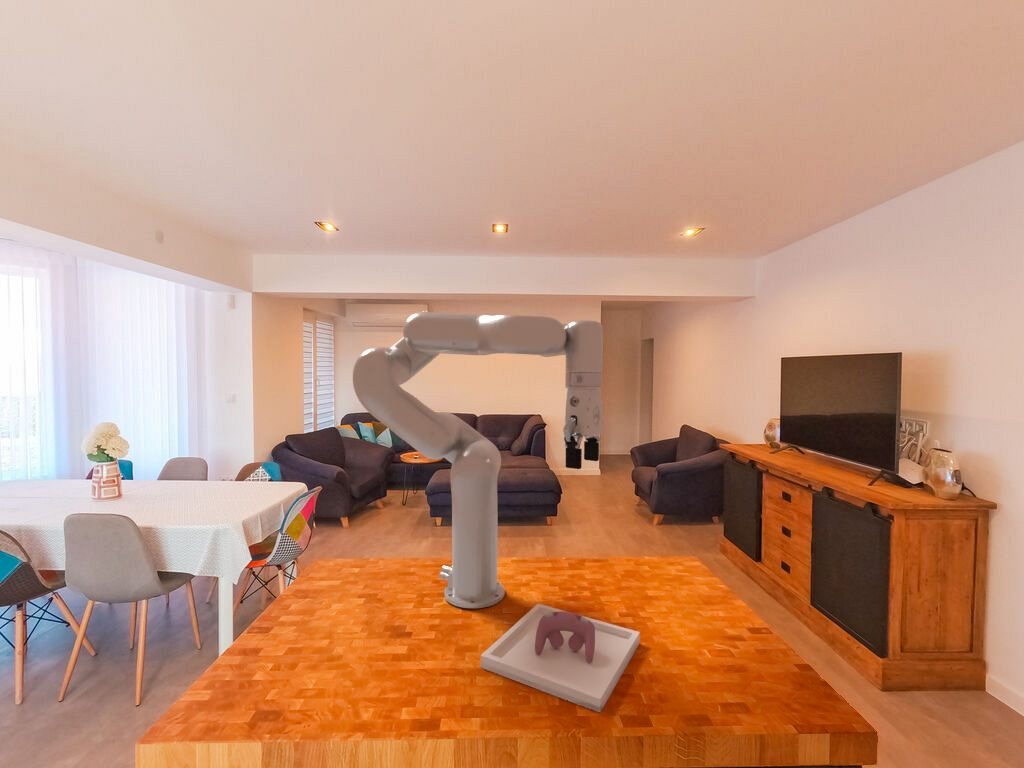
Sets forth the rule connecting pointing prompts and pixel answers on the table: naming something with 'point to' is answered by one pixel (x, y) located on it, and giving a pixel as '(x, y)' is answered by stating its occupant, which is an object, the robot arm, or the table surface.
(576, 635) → the video game controller
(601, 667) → the tray
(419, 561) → the table surface
